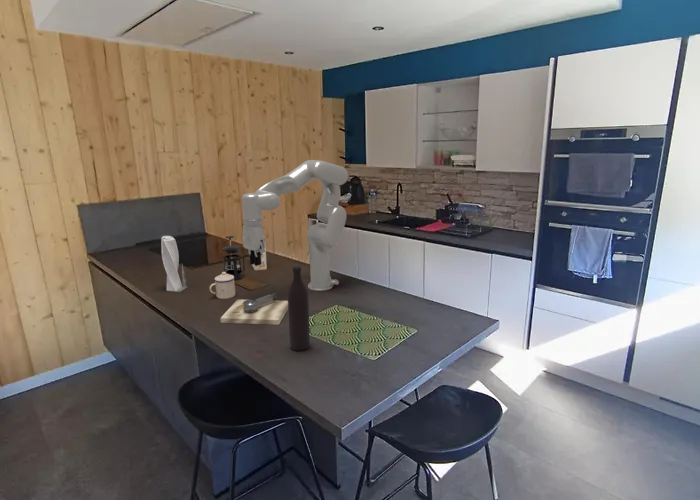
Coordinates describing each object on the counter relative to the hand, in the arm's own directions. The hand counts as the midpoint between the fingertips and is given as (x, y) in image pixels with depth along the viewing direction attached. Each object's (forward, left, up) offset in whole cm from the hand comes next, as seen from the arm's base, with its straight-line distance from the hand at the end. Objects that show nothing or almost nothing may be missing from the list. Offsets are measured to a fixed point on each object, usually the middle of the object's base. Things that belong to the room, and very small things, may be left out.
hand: (255, 264), depth 179 cm
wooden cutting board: (-2, +9, -19) cm, 21 cm away
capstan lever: (-2, +8, -16) cm, 18 cm away
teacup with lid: (+20, -9, -19) cm, 29 cm away
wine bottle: (-26, +36, -19) cm, 48 cm away
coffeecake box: (+17, -56, -19) cm, 62 cm away
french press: (+24, -35, -19) cm, 47 cm away
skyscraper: (+47, -16, -19) cm, 53 cm away
